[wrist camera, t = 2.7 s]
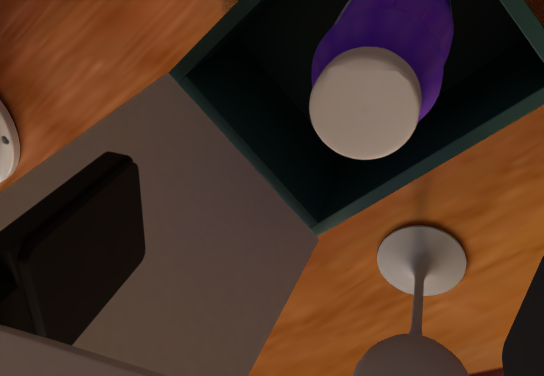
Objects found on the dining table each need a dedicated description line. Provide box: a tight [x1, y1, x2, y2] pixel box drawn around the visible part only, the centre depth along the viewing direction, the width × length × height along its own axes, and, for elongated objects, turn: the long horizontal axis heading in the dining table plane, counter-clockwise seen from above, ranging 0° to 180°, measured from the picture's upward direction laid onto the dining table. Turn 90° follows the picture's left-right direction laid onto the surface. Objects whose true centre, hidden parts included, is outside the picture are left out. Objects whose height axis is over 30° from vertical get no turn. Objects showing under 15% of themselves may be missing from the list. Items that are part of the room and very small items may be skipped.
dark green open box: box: [169, 0, 544, 236], centre depth 30 cm, size 17×14×10 cm
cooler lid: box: [0, 73, 319, 376], centre depth 24 cm, size 18×14×1 cm
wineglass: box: [353, 225, 469, 376], centre depth 34 cm, size 8×8×21 cm
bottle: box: [309, 0, 454, 160], centre depth 26 cm, size 7×6×17 cm
